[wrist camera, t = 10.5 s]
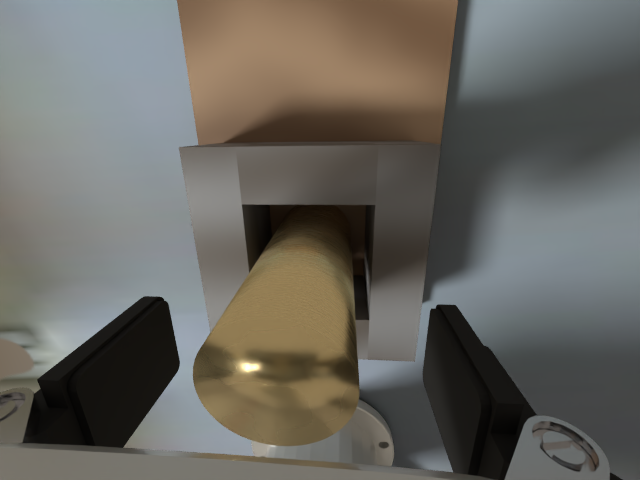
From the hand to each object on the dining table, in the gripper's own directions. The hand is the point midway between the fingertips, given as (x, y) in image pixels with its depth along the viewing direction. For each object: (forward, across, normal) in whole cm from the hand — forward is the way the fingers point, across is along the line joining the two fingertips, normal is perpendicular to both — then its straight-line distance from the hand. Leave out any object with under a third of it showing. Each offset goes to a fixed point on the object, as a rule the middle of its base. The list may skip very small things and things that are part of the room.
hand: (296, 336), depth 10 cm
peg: (+9, 0, -1) cm, 9 cm away
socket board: (+10, 0, -6) cm, 12 cm away
